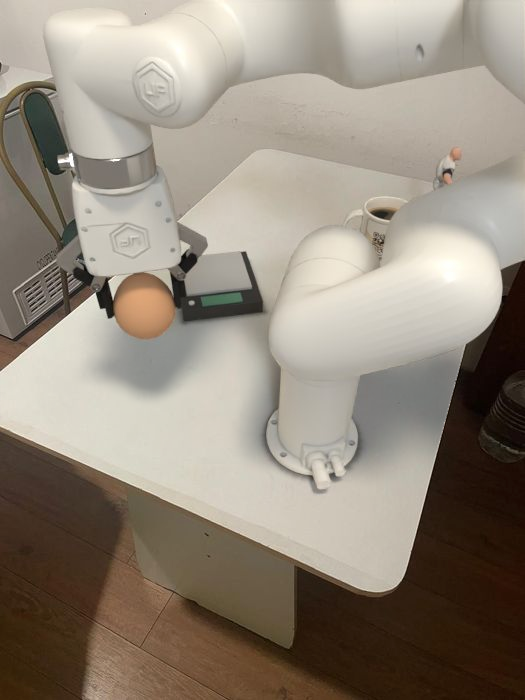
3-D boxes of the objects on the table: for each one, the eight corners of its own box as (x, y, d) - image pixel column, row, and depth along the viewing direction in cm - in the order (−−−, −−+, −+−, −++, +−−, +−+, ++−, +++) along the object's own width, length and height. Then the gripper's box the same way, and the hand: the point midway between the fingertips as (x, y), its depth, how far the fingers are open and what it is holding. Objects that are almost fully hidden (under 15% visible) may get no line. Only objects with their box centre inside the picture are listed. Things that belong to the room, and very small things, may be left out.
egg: (137, 361, 61) (124, 304, 55) (109, 328, 65) (94, 273, 59) (190, 335, 64) (183, 280, 58) (160, 306, 68) (151, 251, 62)
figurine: (454, 250, 106) (481, 166, 94) (412, 244, 108) (433, 160, 95) (453, 216, 117) (477, 136, 104) (414, 210, 118) (433, 131, 106)
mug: (381, 279, 99) (392, 228, 91) (335, 253, 105) (341, 203, 97) (414, 259, 104) (427, 209, 96) (368, 235, 110) (377, 186, 102)
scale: (262, 312, 91) (263, 298, 89) (183, 322, 89) (181, 308, 87) (246, 261, 102) (245, 248, 100) (175, 269, 100) (173, 255, 98)
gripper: (17, 189, 45) (68, 337, 58) (211, 170, 48) (221, 315, 61) (25, 155, 51) (70, 297, 63) (200, 140, 54) (211, 278, 66)
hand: (144, 305), depth 62 cm, fingers closed on egg, 7 cm apart
